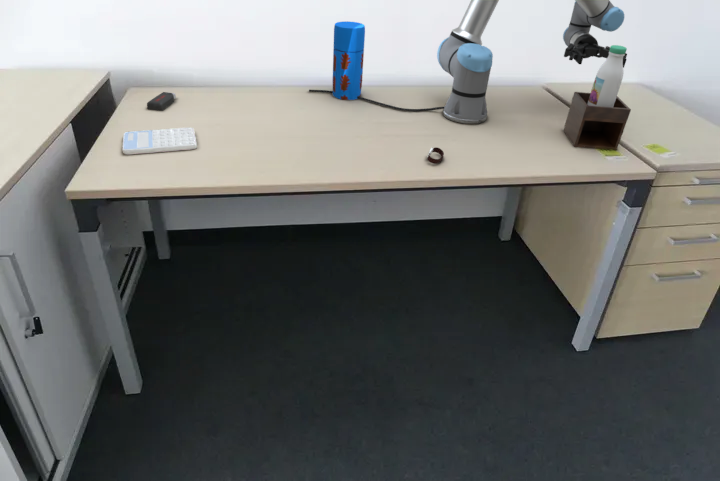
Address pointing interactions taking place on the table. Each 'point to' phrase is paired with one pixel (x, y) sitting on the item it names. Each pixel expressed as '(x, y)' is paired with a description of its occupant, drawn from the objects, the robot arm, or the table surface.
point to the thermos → (348, 59)
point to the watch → (436, 152)
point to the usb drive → (161, 101)
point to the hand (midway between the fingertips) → (602, 61)
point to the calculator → (159, 140)
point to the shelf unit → (595, 123)
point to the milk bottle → (608, 79)
